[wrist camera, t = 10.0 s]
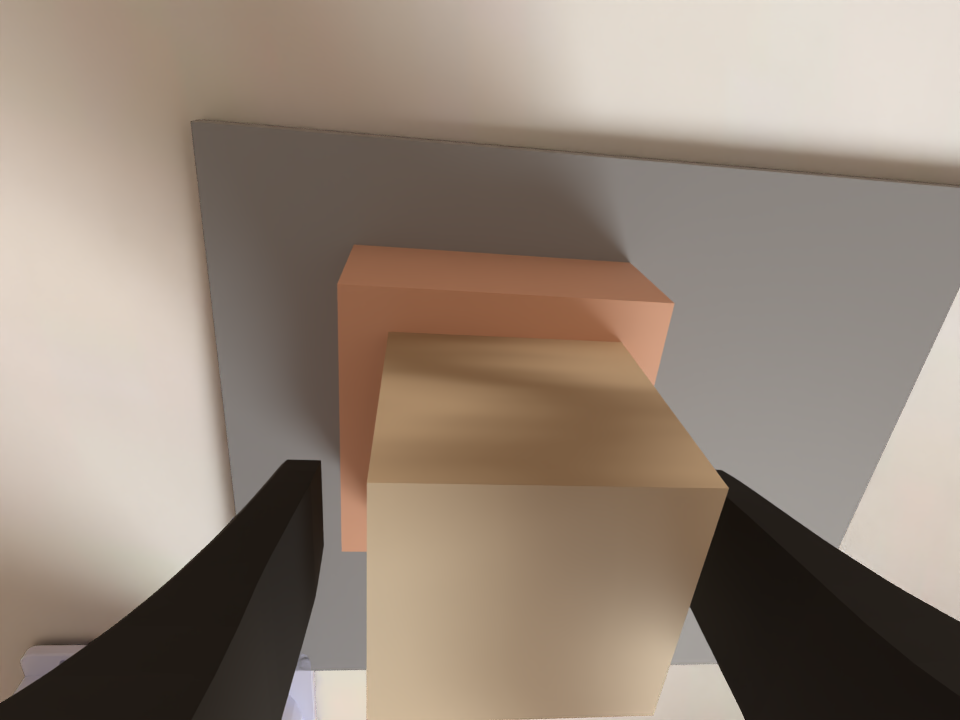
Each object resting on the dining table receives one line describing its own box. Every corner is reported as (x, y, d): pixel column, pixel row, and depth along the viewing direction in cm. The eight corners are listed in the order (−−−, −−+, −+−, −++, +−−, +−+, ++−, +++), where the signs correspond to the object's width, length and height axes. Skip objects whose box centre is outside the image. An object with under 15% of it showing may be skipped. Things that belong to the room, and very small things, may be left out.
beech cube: (384, 520, 14) (366, 724, 10) (388, 331, 12) (367, 482, 8) (584, 521, 15) (653, 715, 10) (621, 342, 13) (728, 488, 8)
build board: (258, 656, 21) (228, 761, 18) (200, 119, 13) (128, 133, 10) (776, 649, 23) (832, 741, 20) (984, 187, 16) (1130, 217, 12)
